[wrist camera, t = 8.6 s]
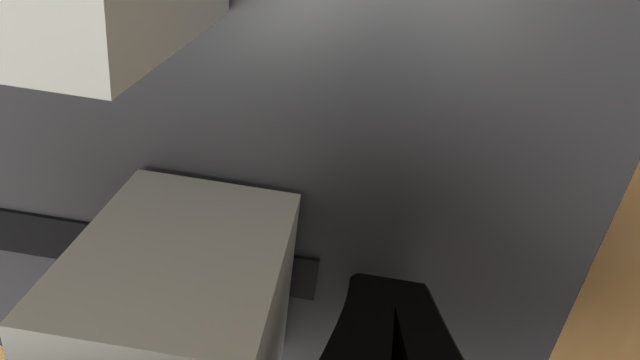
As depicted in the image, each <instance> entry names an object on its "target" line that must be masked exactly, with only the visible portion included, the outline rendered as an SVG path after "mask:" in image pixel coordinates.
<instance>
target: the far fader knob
mask: <svg viewBox="0 0 640 360" xmlns="http://www.w3.org/2000/svg"><path fill="white" fill-rule="evenodd" d="M300 198H301V194H296V193H289V192H283V191H276V190H270V189H263V188H257V187H250V186H244V185H237V184H231V183H224V182H218V181H212V180H205V179H199V178H192V177H186V176H179V175H173V174H166V173H160V172H153V171H147V170H140V169H138V170H137V171H136V172H135V173H134V174H133V175H132V176H131V178H130V179H129V180H128V181H127V182H126V183H125V184H124V185H123V187H122V188H121V189H120V190H119V191H118V192H117V193H116V194H115V195H114V197H113V198H112V199H111V200H110V201H109V202H108V203H107V204H106V205H105V207H104V208H103V209H102V210H101V211H100V212H99V213H98V214H97V215H96V217H95V218H94V219H93V220H92V221H91V222H90V223H89V224H88V226H87V227H86V228H85V229H84V230H83V231H82V232H81V233H80V234H79V236H78V237H77V238H76V239H75V240H74V241H73V242H72V243H71V244H70V246H69V247H68V248H67V249H66V250H65V251H64V252H63V253H62V254H61V256H60V257H59V258H58V259H57V260H56V261H55V262H54V263H53V265H52V266H51V267H50V268H49V269H48V270H47V271H46V272H45V273H44V275H43V276H42V277H41V278H40V279H39V280H38V281H37V282H36V283H35V285H34V286H33V287H32V288H31V289H30V290H29V291H28V292H27V293H26V295H25V296H24V297H23V298H22V299H21V300H20V301H19V302H18V304H17V305H16V306H15V307H14V308H13V309H12V310H11V311H10V312H9V314H8V315H7V316H6V317H5V318H4V319H3V320H2V321H1V322H0V338H1V342H2V346H3V350H4V354H5V359H6V360H281V358H282V353H283V345H284V337H285V328H286V319H287V311H288V302H289V293H290V285H291V276H292V267H293V259H294V250H295V241H296V233H297V224H298V215H299V207H300Z"/></svg>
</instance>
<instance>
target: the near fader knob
mask: <svg viewBox="0 0 640 360" xmlns="http://www.w3.org/2000/svg"><path fill="white" fill-rule="evenodd" d="M228 13H229V0H0V84H1V85H8V86H15V87H21V88H28V89H35V90H41V91H48V92H55V93H61V94H68V95H75V96H81V97H88V98H95V99H101V100H108V101H112V100H113V99H115V98H116V97H117V96H119V95H120V94H121V93H123V92H124V91H125V90H127V89H128V88H129V87H131V86H132V85H133V84H135V83H136V82H137V81H139V80H140V79H141V78H143V77H144V76H145V75H147V74H148V73H149V72H151V71H152V70H153V69H155V68H156V67H157V66H159V65H160V64H161V63H163V62H164V61H165V60H167V59H168V58H169V57H171V56H172V55H173V54H174V53H176V52H177V51H178V50H180V49H181V48H182V47H184V46H185V45H186V44H188V43H189V42H190V41H192V40H193V39H194V38H196V37H197V36H198V35H200V34H201V33H202V32H204V31H205V30H206V29H208V28H209V27H210V26H212V25H213V24H214V23H216V22H217V21H218V20H220V19H221V18H222V17H224V16H225V15H226V14H228Z"/></svg>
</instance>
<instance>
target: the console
mask: <svg viewBox="0 0 640 360" xmlns="http://www.w3.org/2000/svg"><path fill="white" fill-rule="evenodd" d="M639 160H640V0H229V13H228V14H226V15H225V16H224V17H222V18H221V19H220V20H218V21H217V22H216V23H214V24H213V25H212V26H210V27H209V28H208V29H206V30H205V31H204V32H202V33H201V34H200V35H198V36H197V37H196V38H194V39H193V40H192V41H190V42H189V43H188V44H186V45H185V46H184V47H182V48H181V49H180V50H178V51H177V52H176V53H174V54H173V55H172V56H171V57H169V58H168V59H167V60H165V61H164V62H163V63H161V64H160V65H159V66H157V67H156V68H155V69H153V70H152V71H151V72H149V73H148V74H147V75H145V76H144V77H143V78H141V79H140V80H139V81H137V82H136V83H135V84H133V85H132V86H131V87H129V88H128V89H127V90H125V91H124V92H123V93H121V94H120V95H119V96H117V97H116V98H115V99H113V100H112V101H108V100H101V99H95V98H88V97H81V96H75V95H68V94H61V93H55V92H48V91H41V90H35V89H28V88H21V87H15V86H8V85H1V84H0V322H1V321H2V320H3V319H4V318H5V317H6V316H7V315H8V314H9V312H10V311H11V310H12V309H13V308H14V307H15V306H16V305H17V304H18V302H19V301H20V300H21V299H22V298H23V297H24V296H25V295H26V293H27V292H28V291H29V290H30V289H31V288H32V287H33V286H34V285H35V283H36V282H37V281H38V280H39V279H40V278H41V277H42V276H43V275H44V273H45V272H46V271H47V270H48V269H49V268H50V267H51V266H52V265H53V263H54V262H55V261H56V260H57V259H58V258H59V257H60V256H61V254H62V253H63V252H64V251H65V250H66V249H67V248H68V247H69V246H70V244H71V243H72V242H73V241H74V240H75V239H76V238H77V237H78V236H79V234H80V233H81V232H82V231H83V230H84V229H85V228H86V227H87V226H88V224H89V223H90V222H91V221H92V220H93V219H94V218H95V217H96V215H97V214H98V213H99V212H100V211H101V210H102V209H103V208H104V207H105V205H106V204H107V203H108V202H109V201H110V200H111V199H112V198H113V197H114V195H115V194H116V193H117V192H118V191H119V190H120V189H121V188H122V187H123V185H124V184H125V183H126V182H127V181H128V180H129V179H130V178H131V176H132V175H133V174H134V173H135V172H136V171H137V170H138V169H140V170H147V171H153V172H160V173H166V174H173V175H179V176H186V177H192V178H199V179H205V180H212V181H218V182H224V183H231V184H237V185H244V186H250V187H257V188H263V189H270V190H276V191H283V192H289V193H296V194H301V198H300V207H299V215H298V224H297V233H296V241H295V250H294V259H293V267H292V276H291V285H290V293H289V302H288V311H287V319H286V328H285V337H284V345H283V353H282V358H281V360H319V358H320V356H321V355H322V353H323V351H324V349H325V347H326V345H327V342H328V340H329V338H330V336H331V334H332V332H333V330H334V328H335V326H336V324H337V321H338V319H339V317H340V314H341V312H342V309H343V306H344V304H345V301H346V297H347V292H348V286H349V281H350V277H351V276H353V275H354V274H356V273H362V274H368V275H375V276H381V277H387V278H393V279H399V280H406V281H412V282H418V283H424V284H425V285H426V286H427V287H428V289H429V290H430V293H431V295H432V297H433V299H434V301H435V304H436V306H437V308H438V310H439V312H440V314H441V316H442V318H443V320H444V322H445V324H446V326H447V328H448V330H449V332H450V334H451V336H452V338H453V340H454V341H455V343H456V345H457V347H458V349H459V351H460V353H461V354H462V356H463V358H464V360H548V359H549V357H550V355H551V352H552V350H553V348H554V346H555V344H556V342H557V339H558V337H559V335H560V333H561V331H562V328H563V326H564V324H565V322H566V320H567V318H568V315H569V313H570V311H571V309H572V307H573V304H574V302H575V300H576V298H577V296H578V293H579V291H580V289H581V287H582V285H583V283H584V280H585V278H586V276H587V274H588V272H589V269H590V267H591V265H592V263H593V261H594V258H595V256H596V254H597V252H598V250H599V248H600V245H601V243H602V241H603V239H604V237H605V234H606V232H607V230H608V228H609V226H610V224H611V221H612V219H613V217H614V215H615V213H616V210H617V208H618V206H619V204H620V202H621V199H622V197H623V195H624V193H625V191H626V189H627V186H628V184H629V182H630V180H631V178H632V175H633V173H634V171H635V169H636V167H637V164H638V162H639ZM0 345H1V346H2V342H1V338H0Z"/></svg>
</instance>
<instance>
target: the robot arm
mask: <svg viewBox="0 0 640 360" xmlns="http://www.w3.org/2000/svg"><path fill="white" fill-rule="evenodd" d="M319 360H464V358H463V356H462V354H461V353H460V351H459V349H458V347H457V345H456V343H455V341H454V340H453V338H452V336H451V334H450V332H449V330H448V328H447V326H446V324H445V322H444V320H443V318H442V316H441V314H440V312H439V310H438V308H437V306H436V304H435V301H434V299H433V297H432V295H431V293H430V290H429V289H428V287H427V286H426V285H425V284H424V283H418V282H412V281H406V280H399V279H393V278H387V277H381V276H375V275H368V274H362V273H356V274H354V275H353V276H351V277H350V281H349V286H348V292H347V297H346V301H345V304H344V306H343V309H342V312H341V314H340V317H339V319H338V321H337V324H336V326H335V328H334V330H333V332H332V334H331V336H330V338H329V340H328V342H327V345H326V347H325V349H324V351H323V353H322V355H321V356H320V358H319Z"/></svg>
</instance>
